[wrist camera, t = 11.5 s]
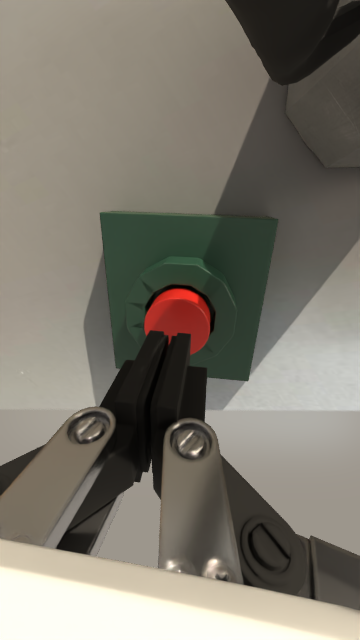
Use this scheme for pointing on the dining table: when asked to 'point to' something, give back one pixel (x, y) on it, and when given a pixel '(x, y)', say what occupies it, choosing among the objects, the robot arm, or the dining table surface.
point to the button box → (189, 279)
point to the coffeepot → (312, 68)
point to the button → (180, 316)
